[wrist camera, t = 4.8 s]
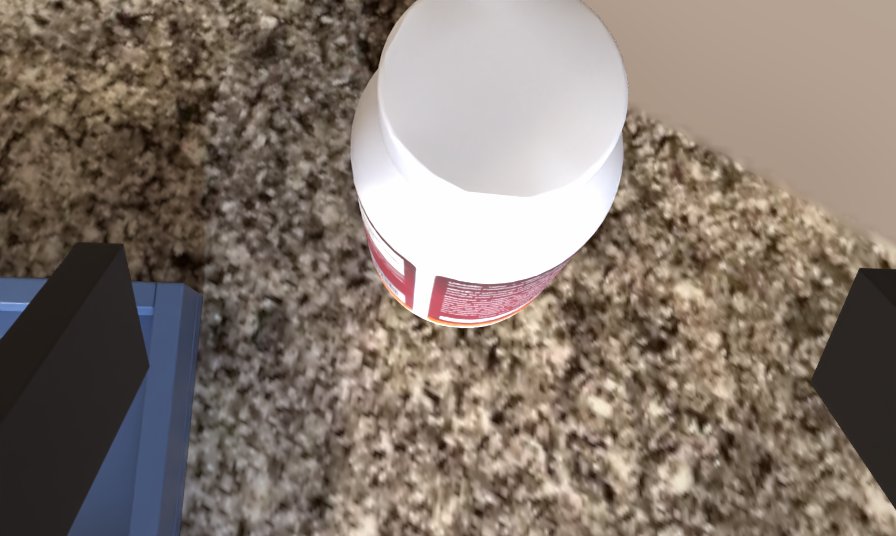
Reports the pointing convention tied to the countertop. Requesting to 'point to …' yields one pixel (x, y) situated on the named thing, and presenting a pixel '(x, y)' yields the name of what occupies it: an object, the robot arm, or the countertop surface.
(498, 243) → the pill bottle
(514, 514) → the countertop surface
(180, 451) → the blue tray
